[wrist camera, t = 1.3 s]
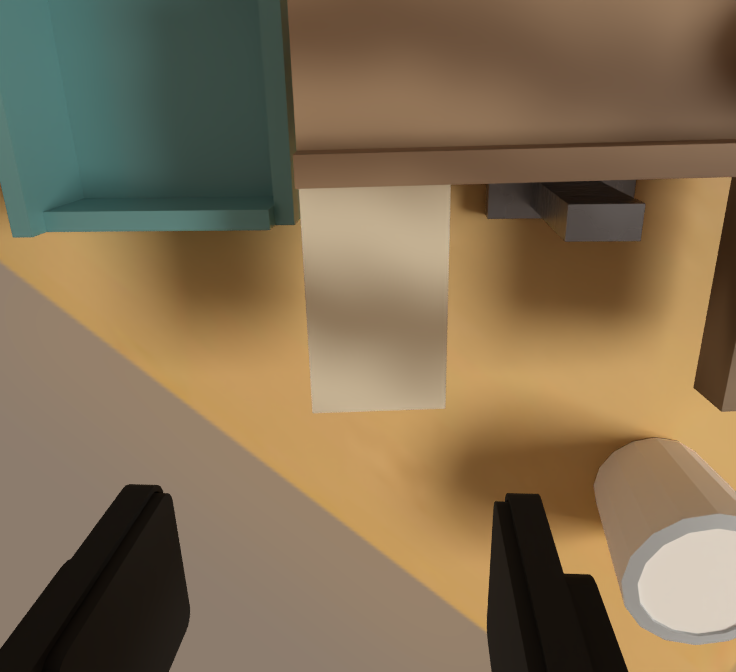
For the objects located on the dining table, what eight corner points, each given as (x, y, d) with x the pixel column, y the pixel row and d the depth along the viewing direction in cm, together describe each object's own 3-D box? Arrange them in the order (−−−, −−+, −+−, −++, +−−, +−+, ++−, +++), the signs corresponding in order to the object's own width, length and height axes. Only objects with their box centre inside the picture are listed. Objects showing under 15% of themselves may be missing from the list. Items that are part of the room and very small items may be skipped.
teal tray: (21, -78, 25) (-69, -116, 20) (289, -91, 24) (258, -133, 20) (77, 214, 29) (12, 237, 25) (306, 211, 28) (285, 235, 24)
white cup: (558, 515, 33) (592, 617, 27) (620, 408, 31) (674, 493, 24) (676, 555, 34) (738, 666, 27) (747, 453, 31) (833, 548, 25)
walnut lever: (286, -60, 19) (271, -96, 15) (936, -72, 19) (1076, -111, 16) (313, 401, 25) (308, 456, 21) (818, 383, 25) (900, 434, 21)
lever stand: (499, -107, 24) (534, -190, 17) (665, -115, 23) (773, -204, 16) (485, 214, 28) (508, 256, 21) (624, 213, 28) (695, 255, 20)
